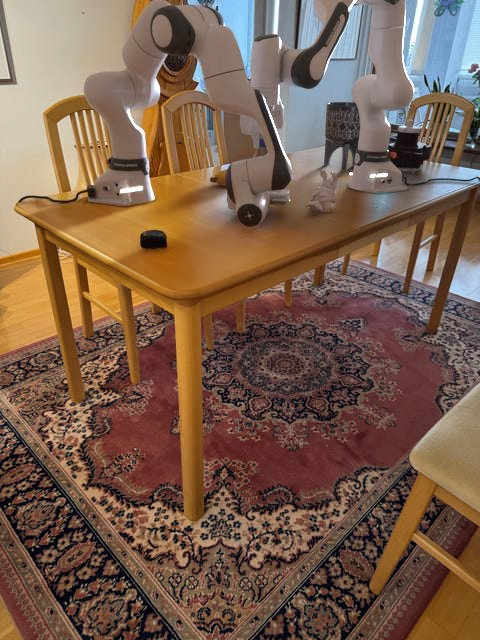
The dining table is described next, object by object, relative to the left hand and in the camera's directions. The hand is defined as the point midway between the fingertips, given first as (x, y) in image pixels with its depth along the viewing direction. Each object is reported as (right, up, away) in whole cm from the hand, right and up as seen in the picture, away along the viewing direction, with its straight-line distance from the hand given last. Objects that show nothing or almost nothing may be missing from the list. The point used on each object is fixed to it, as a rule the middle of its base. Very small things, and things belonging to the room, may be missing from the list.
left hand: (260, 189), depth 150 cm
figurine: (+20, -7, -1) cm, 21 cm away
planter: (+40, +28, +60) cm, 78 cm away
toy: (-12, +10, +27) cm, 31 cm away
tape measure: (-29, -25, -33) cm, 50 cm away
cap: (0, +13, -9) cm, 16 cm away
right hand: (0, +11, -7) cm, 13 cm away
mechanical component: (+70, +26, +59) cm, 96 cm away
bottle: (0, -5, +2) cm, 6 cm away
